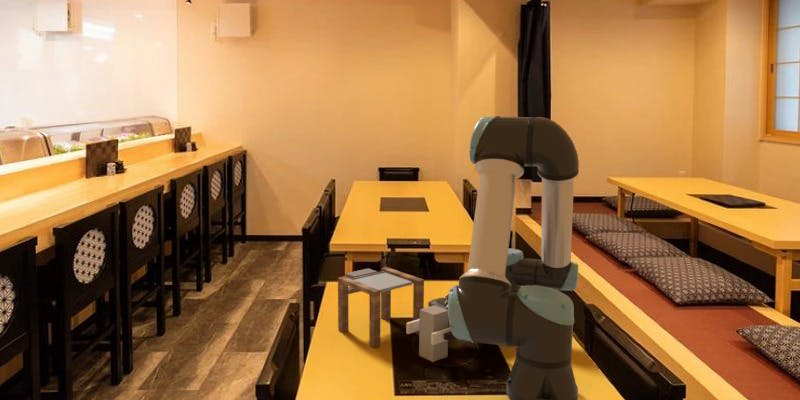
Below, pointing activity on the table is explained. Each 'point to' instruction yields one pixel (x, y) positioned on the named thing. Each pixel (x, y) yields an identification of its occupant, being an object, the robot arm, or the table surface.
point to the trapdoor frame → (376, 302)
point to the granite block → (430, 323)
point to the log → (440, 302)
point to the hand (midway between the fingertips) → (419, 333)
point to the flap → (378, 279)
